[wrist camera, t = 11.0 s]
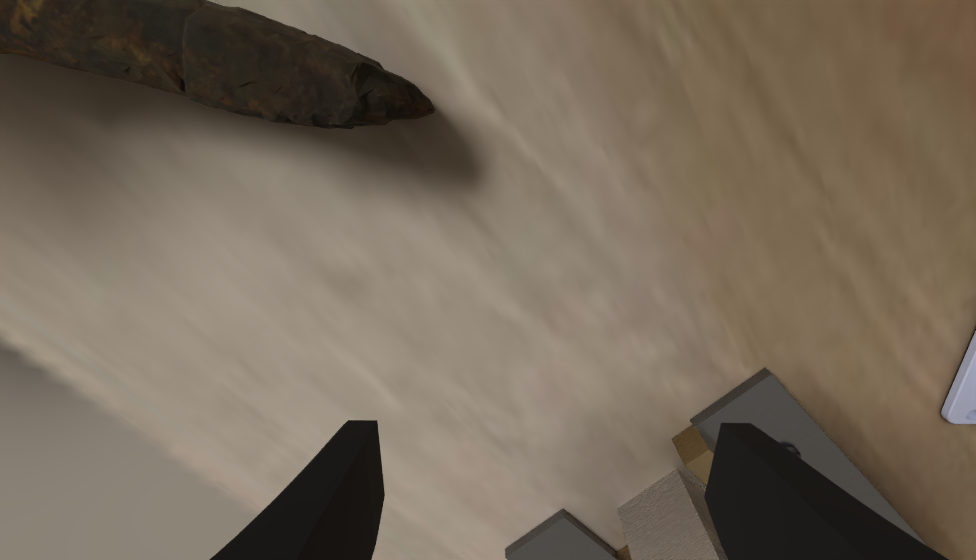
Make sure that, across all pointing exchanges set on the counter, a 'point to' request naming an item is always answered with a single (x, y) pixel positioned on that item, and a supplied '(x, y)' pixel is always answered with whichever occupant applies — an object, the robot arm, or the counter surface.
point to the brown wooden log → (213, 59)
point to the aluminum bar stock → (670, 522)
